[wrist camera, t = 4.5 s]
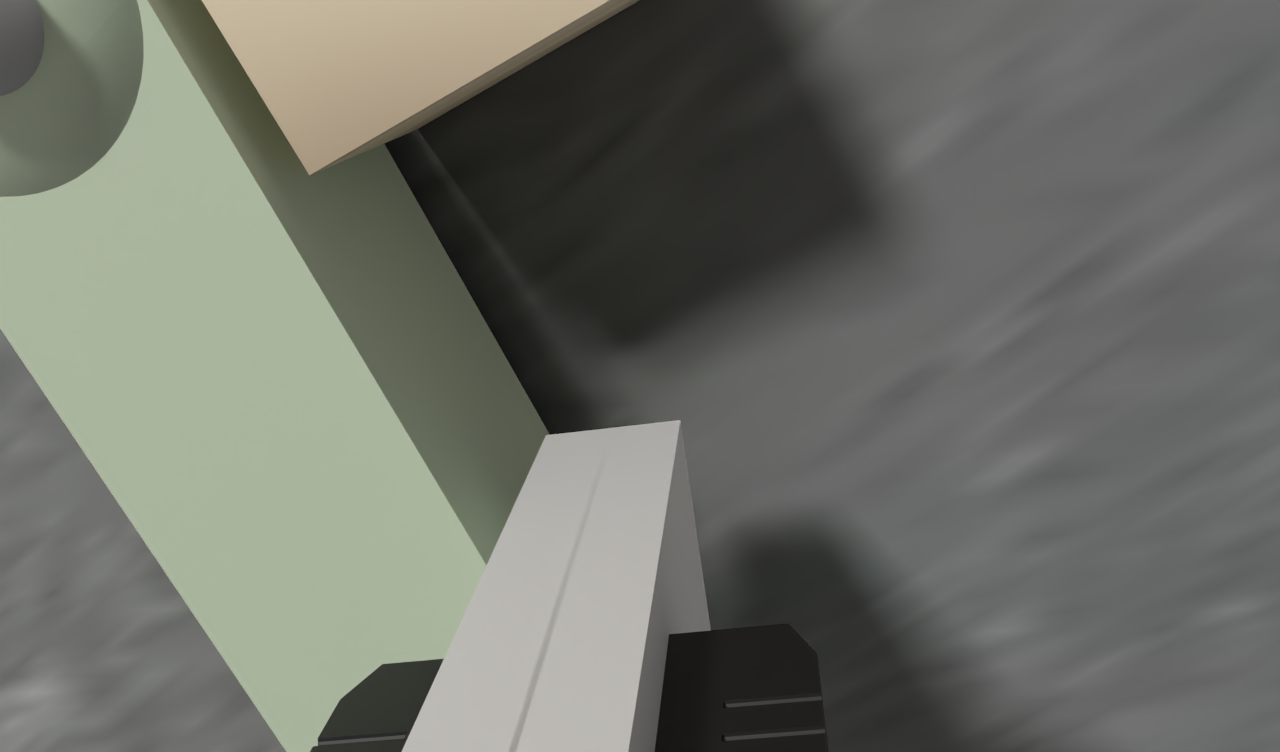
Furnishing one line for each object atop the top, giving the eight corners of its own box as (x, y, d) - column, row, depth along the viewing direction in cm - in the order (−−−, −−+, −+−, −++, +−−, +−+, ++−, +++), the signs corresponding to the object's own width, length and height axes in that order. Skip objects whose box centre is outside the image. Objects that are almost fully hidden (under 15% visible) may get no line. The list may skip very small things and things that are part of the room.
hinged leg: (4, -37, 15) (-329, -52, 10) (209, -166, 14) (-48, -243, 9) (514, 779, 17) (436, 1058, 13) (702, 702, 17) (689, 964, 12)
